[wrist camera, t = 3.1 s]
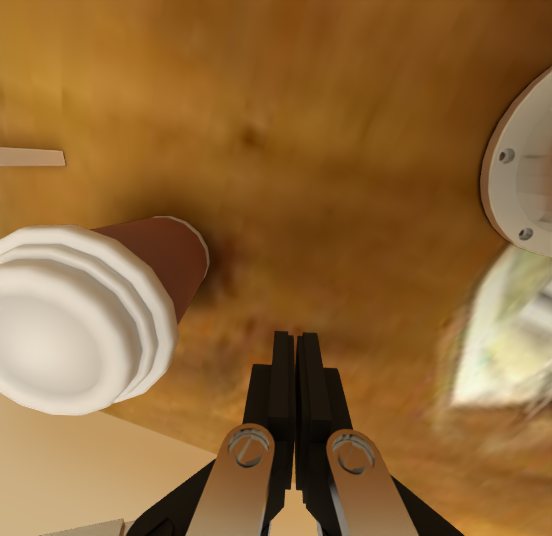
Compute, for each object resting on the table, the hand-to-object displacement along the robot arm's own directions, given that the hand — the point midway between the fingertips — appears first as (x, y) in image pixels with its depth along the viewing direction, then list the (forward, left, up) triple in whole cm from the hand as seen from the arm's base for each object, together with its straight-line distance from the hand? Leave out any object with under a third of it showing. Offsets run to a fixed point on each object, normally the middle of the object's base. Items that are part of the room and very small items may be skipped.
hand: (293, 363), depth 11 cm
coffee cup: (+10, 0, -12) cm, 15 cm away
